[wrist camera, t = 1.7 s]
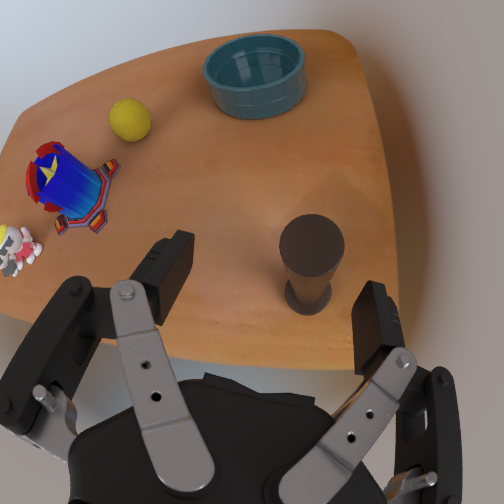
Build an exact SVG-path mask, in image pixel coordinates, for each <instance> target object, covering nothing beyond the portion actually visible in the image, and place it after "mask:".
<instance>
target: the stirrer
mask: <svg viewBox="0 0 504 504" xmlns="http://www.w3.org/2000/svg"><path fill="white" fill-rule="evenodd" d="M279 248H280V254H281V257H282V260H283V263H284V265H285V268H286V271H287V274H288V277H289V280H288V282H287V284H286V288H285V297H286V300H287V303H288V304H289V306H290V307H291V308H292V309H293V310H294V311H295V312H297V313H299V314H301V315H306V316H309V315H314V314H317V313H319V312H321V311H322V310H323V309H324V308H325V307H326V306H327V305H328V303H329V301H330V298H331V285H330V280H331V278H332V276H333V274H334V272H335V271H336V269H337V267H338V265H339V263H340V261H341V259H342V257H343V254H344V238H343V235H342V233H341V231H340V229H339V228H338V226H337V225H336V224H335V223H334V222H333V221H331V220H330V219H328V218H326V217H324V216H321V215H317V214H307V215H302V216H299V217H297V218H295V219H294V220H292V221H291V222H290V223H289V224H288V225H287V226H286V227H285V228H284V230H283V232H282V234H281V237H280V243H279Z"/></svg>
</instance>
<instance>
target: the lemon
mask: <svg viewBox="0 0 504 504" xmlns="http://www.w3.org/2000/svg"><path fill="white" fill-rule="evenodd" d="M109 122H110V125H111V128H112V130H113V131H114V133H115V134H116V135H117V136H118V137H119V138H121V139H123V140H125V141H129V142H134V141H138V140H141V139H142V138H144V137H145V136H146V135H147V134H148V132H149V130H150V128H151V116H150V113H149V111H148V110H147V108H146V107H145V106H144V105H143V104H142V103H141V102H139V101H138V100H135V99H132V98H127V99H122V100H120V101H118V102H116V103H115V105H114V106H113V107H112V109H111V111H110V114H109Z"/></svg>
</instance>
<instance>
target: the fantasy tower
mask: <svg viewBox="0 0 504 504" xmlns="http://www.w3.org/2000/svg"><path fill="white" fill-rule="evenodd" d="M36 153H37V154H38V155H39V157H38V158H37V159H36V160H35V162H34V163H33V162H32V161H30V163H29V166H28V169H27V172H26V187H27V191H28V195H29V196H31V198H32V199H33V200H34V201H35V203H36V204H37V203H38V201H40V202H41V203H43V204H45V208H44V210H46V211H48V212H56V211H58V212H60V213H62V214H63V215H64V216H65V218H66V221H67V223H68V225H69V227H70V228H74V227H87V226H88V225H89V228H90V230H92V231H93V232H95V233H96V234H97V233H98V232H99V231H100V229H101V228H102V227H103V226H104V225H105V224H106V223H107V216H106V212H105V210H102V209H103V208H104V207H105V203H106V198H107V194H108V190H109V186H110V182H111V181H110V179H109V178H108V176H107V175H106V173H105V172H104V170H103V169H102V168H98V169H93V170H90V169H89V168H88V167H86V166H85V165H84V164H83V163H81V162H80V161H79V160H78V159H76V158H75V157H74V156H73V155H71V153H69V152H68V151H66V150H65V149H64V146H63V145H62V144H61V143H60V142H53V141H52V142H49V143H46V144H44V145H41V146H40V147H39V148H38V149H37V150H36ZM103 166H104V168H105V170H106V171H107V173H108V174H109V176H110V177H111V179H112V178H113V177H114V176H115V174H116V173H117V171H118V169H119V168H120V165H119V164H118V162H117V161H116V159H112V160H110V161H108V162H106V163H105V164H104V165H103ZM55 227H56V229H57V232H58V234H59V235H61V234H62V233H64V232H65V231H66V230H67V229H68V227H67V225H66V223H65V220H64V218H63V216H62V215H60V216H58V218H57V219H56V222H55Z"/></svg>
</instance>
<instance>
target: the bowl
mask: <svg viewBox="0 0 504 504" xmlns="http://www.w3.org/2000/svg"><path fill="white" fill-rule="evenodd" d="M203 77H204V79H205V81H206V83H207V86H208V88H209V90H210V92H211V95H212V97H213V99H214V101H215V103H216V105H217V106H218V108H219V109H220V110H222V111H223V112H225V113H226V114H228V115H230V116H234V117H237V118H241V119H262V118H268V117H273V116H276V115H279V114H281V113H283V112H286V111H288V110H290V109H291V108H292V107H294V106H295V105H296V104H297V103H299V102H300V100H301V99H302V97H303V96H304V94H305V93H306V86H307V78H306V63H305V54H304V52H303V50H302V48H301V46H300V45H298V44H297V43H296V42H295V41H293V40H291V39H289V38H286V37H283V36H280V35H273V34H253V35H248V36H243V37H239V38H236V39H233V40H231V41H228V42H226V43H224V44H223V45H221V46H219V47H218V48H216V49H215V50H214V51H213V52H212V53H211V54H210V55H209V56H208V57H207V58H206V60H205V62H204V64H203Z"/></svg>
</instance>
